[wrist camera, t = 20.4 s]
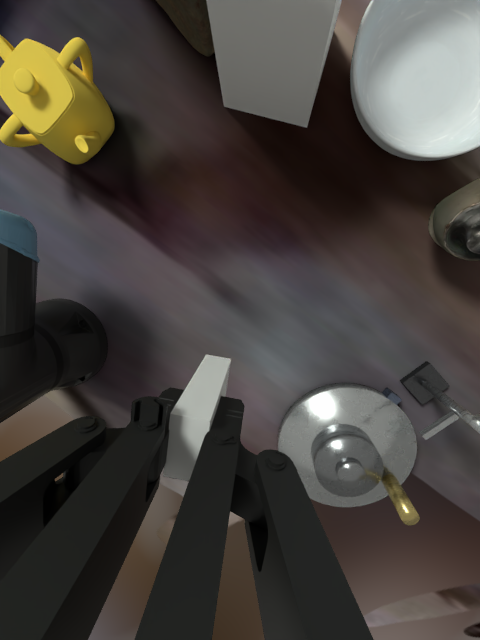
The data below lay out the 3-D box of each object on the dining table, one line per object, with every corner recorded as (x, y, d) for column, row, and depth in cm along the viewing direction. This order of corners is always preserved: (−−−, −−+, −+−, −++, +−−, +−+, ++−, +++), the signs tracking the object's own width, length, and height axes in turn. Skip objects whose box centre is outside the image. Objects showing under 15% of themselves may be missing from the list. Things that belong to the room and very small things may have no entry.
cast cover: (345, 488, 48) (356, 516, 43) (298, 455, 48) (302, 480, 42) (386, 447, 46) (403, 472, 40) (337, 412, 45) (347, 433, 40)
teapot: (130, 78, 40) (86, 18, 30) (126, 176, 43) (84, 150, 33) (38, 68, 41) (-35, 6, 31) (40, 165, 44) (-27, 137, 34)
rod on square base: (407, 419, 47) (474, 494, 32) (383, 392, 47) (439, 456, 32) (451, 389, 46) (543, 454, 31) (426, 361, 45) (507, 413, 30)
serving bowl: (307, 79, 39) (315, 41, 32) (451, -53, 34) (496, -128, 28) (392, 206, 41) (417, 196, 34) (537, 97, 37) (597, 62, 30)
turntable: (351, 518, 52) (369, 572, 43) (252, 452, 50) (250, 492, 42) (444, 428, 46) (486, 468, 38) (336, 351, 45) (354, 374, 36)
